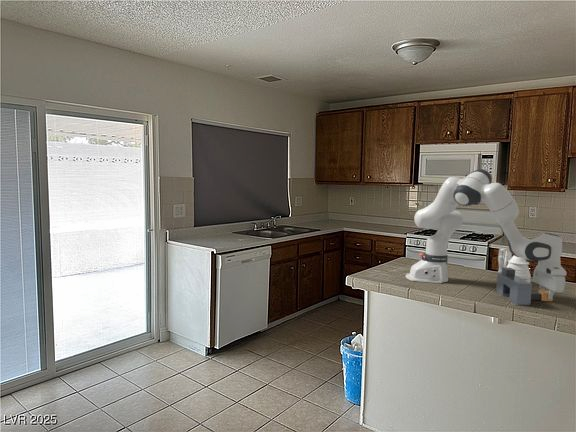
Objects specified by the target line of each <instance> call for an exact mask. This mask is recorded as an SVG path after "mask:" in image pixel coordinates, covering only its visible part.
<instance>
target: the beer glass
mask: <svg viewBox="0 0 576 432" xmlns="http://www.w3.org/2000/svg"><path fill="white" fill-rule="evenodd" d="M497 255H498V256H497V261H498V271H497V273H498V272H502V267H507V266H508V264H509V262H508V261H509V260H511V258H512V257H513V256H512V255H513V254H512V253H511V252H510V250H509V248H499V249H498V254H497Z"/></svg>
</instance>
